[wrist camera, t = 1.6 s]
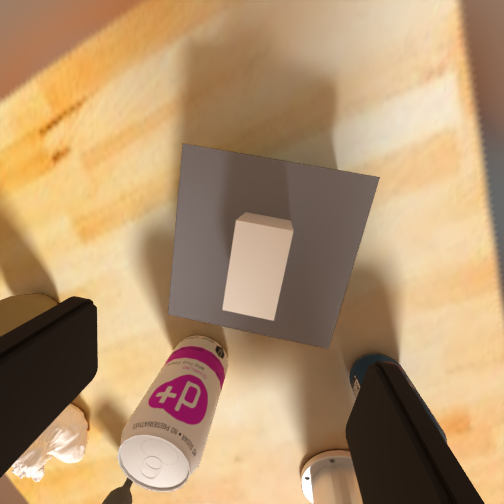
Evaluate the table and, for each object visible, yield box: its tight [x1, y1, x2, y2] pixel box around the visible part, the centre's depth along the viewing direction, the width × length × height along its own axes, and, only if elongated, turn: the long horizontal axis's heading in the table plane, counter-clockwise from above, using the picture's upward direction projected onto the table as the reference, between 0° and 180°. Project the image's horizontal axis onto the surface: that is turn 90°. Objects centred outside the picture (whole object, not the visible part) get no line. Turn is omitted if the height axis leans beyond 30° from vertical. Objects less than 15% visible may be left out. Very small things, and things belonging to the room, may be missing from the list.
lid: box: [168, 144, 380, 349], centre depth 22 cm, size 16×16×7 cm
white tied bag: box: [11, 403, 89, 482], centre depth 39 cm, size 12×8×11 cm
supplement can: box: [117, 335, 228, 492], centre depth 30 cm, size 8×8×15 cm
